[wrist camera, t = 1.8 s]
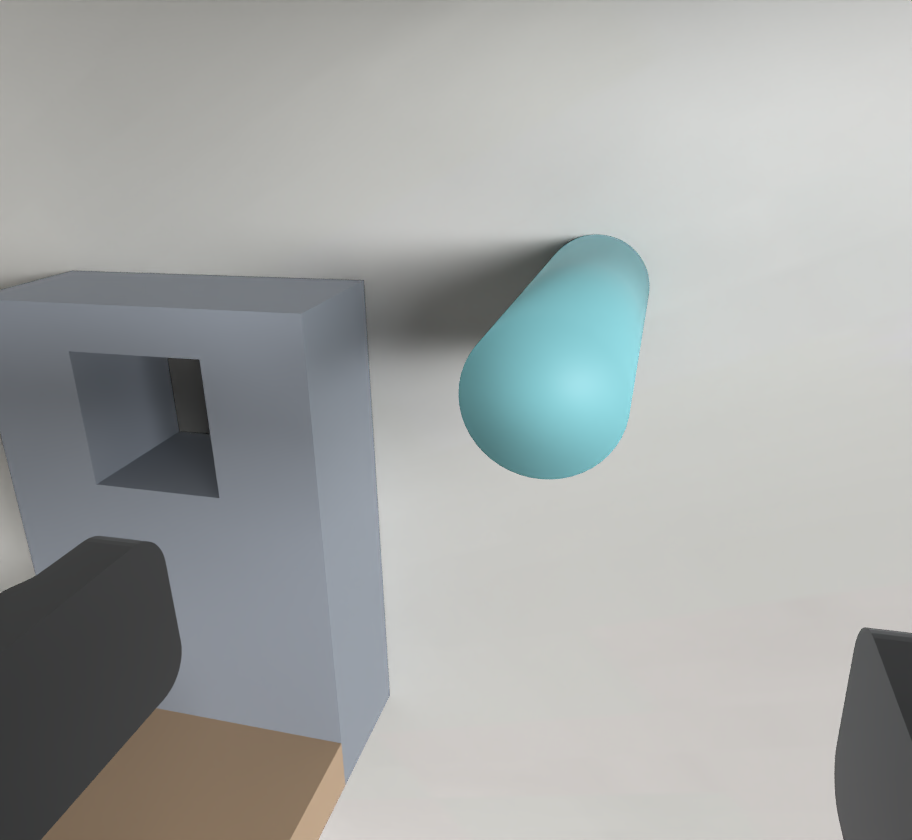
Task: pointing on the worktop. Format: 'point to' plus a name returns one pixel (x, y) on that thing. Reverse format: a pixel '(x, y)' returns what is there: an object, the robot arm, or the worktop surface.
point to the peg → (560, 363)
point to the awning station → (214, 530)
